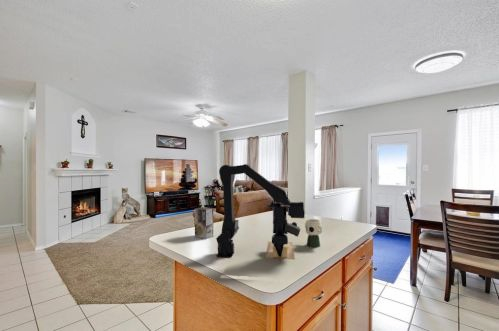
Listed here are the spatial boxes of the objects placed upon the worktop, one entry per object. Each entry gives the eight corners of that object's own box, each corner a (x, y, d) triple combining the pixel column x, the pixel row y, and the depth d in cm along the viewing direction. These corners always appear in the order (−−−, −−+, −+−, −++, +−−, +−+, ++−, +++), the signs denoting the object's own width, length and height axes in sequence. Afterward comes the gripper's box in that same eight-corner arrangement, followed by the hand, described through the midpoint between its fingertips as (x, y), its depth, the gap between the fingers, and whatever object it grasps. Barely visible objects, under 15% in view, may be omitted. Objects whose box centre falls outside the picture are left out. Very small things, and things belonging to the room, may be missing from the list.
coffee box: (213, 236, 129) (213, 208, 129) (206, 239, 123) (206, 209, 124) (202, 234, 133) (202, 206, 134) (194, 236, 128) (194, 208, 129)
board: (265, 260, 94) (265, 257, 94) (268, 243, 115) (268, 241, 115) (294, 261, 92) (294, 259, 92) (292, 244, 114) (292, 242, 114)
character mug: (300, 245, 112) (299, 219, 113) (310, 243, 116) (310, 217, 116) (316, 252, 103) (316, 223, 103) (327, 249, 106) (327, 221, 107)
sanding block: (272, 257, 94) (272, 247, 94) (273, 253, 98) (273, 244, 98) (287, 257, 93) (287, 248, 93) (287, 254, 97) (286, 245, 97)
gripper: (300, 223, 86) (301, 264, 85) (297, 214, 104) (297, 248, 104) (271, 222, 87) (271, 263, 87) (273, 213, 106) (273, 247, 105)
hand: (280, 254), depth 96 cm, fingers closed on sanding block, 4 cm apart
